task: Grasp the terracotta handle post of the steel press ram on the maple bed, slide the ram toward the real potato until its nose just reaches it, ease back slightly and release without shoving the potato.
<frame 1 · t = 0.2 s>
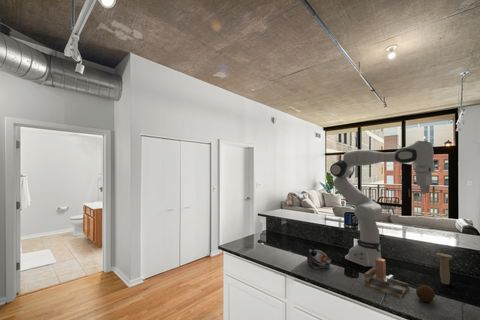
hand: (425, 193, 128), 47 cm above the worktop, fingers open, 8 cm apart
potato: (425, 300, 105), on the worktop
lucky cat figurine: (319, 267, 143), on the worktop
ram: (382, 271, 119), point 7 cm above the worktop, slide at 0.0 cm
handle: (445, 283, 121), on the worktop
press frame: (386, 287, 118), on the worktop
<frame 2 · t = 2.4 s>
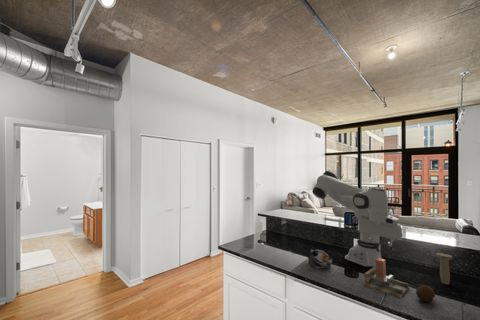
hand: (379, 244, 121), 21 cm above the worktop, fingers open, 8 cm apart
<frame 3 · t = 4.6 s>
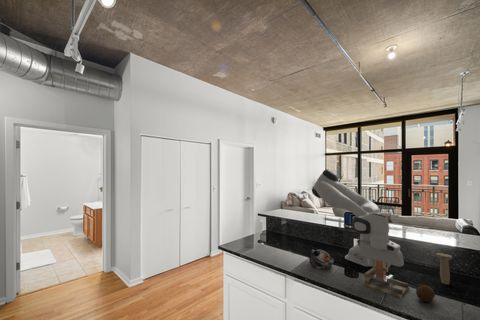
hand: (380, 269, 120), 8 cm above the worktop, fingers closed on ram, 4 cm apart
ram: (382, 271, 119), point 7 cm above the worktop, slide at 0.0 cm, touching gripper
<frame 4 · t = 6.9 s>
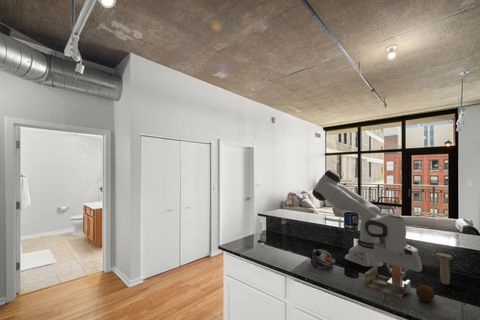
hand: (397, 274, 114), 8 cm above the worktop, fingers closed on ram, 4 cm apart
ram: (398, 276, 114), point 7 cm above the worktop, slide at 7.4 cm, touching gripper
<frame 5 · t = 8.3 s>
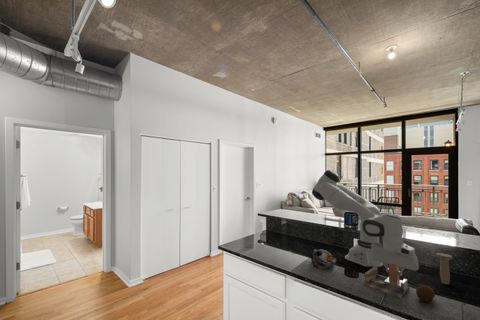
hand: (394, 273, 115), 8 cm above the worktop, fingers closed on ram, 4 cm apart
ram: (395, 275, 115), point 7 cm above the worktop, slide at 6.1 cm, touching gripper
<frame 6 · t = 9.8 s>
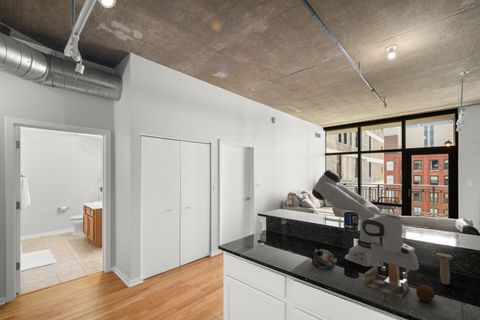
hand: (394, 273, 115), 8 cm above the worktop, fingers open, 8 cm apart
ram: (395, 275, 115), point 7 cm above the worktop, slide at 6.0 cm
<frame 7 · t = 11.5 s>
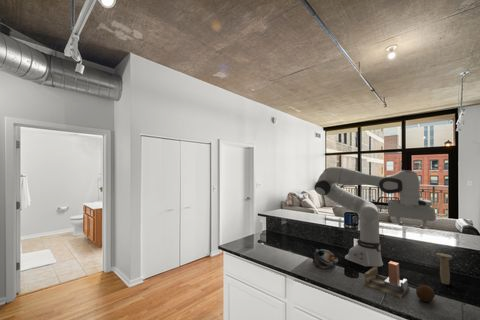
hand: (411, 227, 120), 31 cm above the worktop, fingers open, 8 cm apart
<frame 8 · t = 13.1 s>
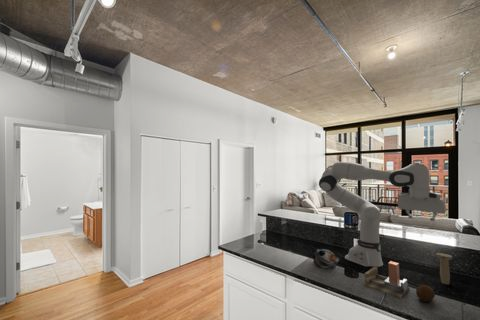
hand: (421, 219, 122), 34 cm above the worktop, fingers open, 8 cm apart
at the end: ram slide at 6.0 cm; potato moved 0.3 cm from its start; the gripper is holding nothing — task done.
